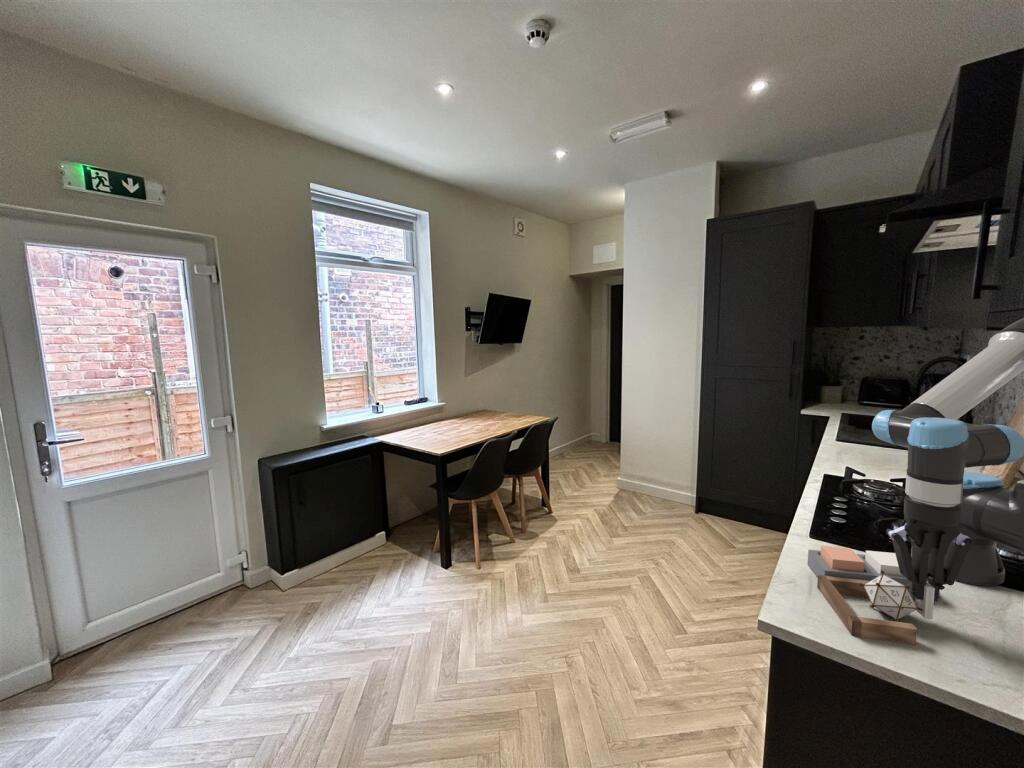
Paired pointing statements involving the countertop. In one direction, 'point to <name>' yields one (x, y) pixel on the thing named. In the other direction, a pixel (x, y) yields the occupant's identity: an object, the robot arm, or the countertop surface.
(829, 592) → the walnut bracket
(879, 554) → the ivory key
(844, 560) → the terracotta key
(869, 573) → the key panel
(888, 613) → the game die
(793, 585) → the countertop surface
